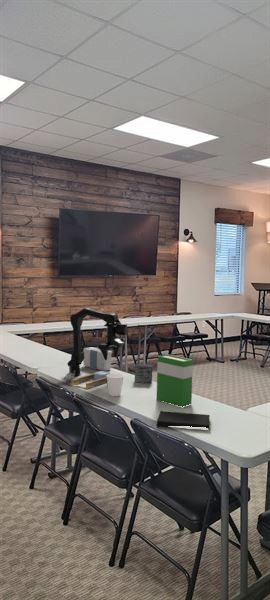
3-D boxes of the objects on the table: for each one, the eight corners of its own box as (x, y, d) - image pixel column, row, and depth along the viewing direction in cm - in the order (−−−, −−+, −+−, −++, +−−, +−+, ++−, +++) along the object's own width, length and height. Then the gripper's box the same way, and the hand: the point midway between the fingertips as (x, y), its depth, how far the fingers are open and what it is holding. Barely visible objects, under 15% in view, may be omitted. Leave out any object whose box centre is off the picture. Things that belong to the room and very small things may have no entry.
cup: (126, 394, 249) (127, 374, 248) (118, 398, 240) (119, 378, 239) (111, 391, 253) (111, 372, 252) (102, 396, 244) (103, 376, 243)
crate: (93, 380, 277) (94, 372, 277) (101, 377, 283) (101, 370, 283) (102, 382, 273) (102, 374, 273) (109, 379, 279) (109, 372, 279)
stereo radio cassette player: (82, 366, 311) (83, 338, 310) (91, 365, 318) (91, 337, 316) (104, 372, 298) (104, 342, 296) (112, 370, 304) (113, 341, 302)
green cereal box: (156, 400, 239) (157, 355, 237) (165, 397, 244) (166, 354, 243) (182, 408, 227) (183, 361, 225) (191, 405, 232) (192, 359, 230)
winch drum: (64, 382, 270) (65, 369, 269) (69, 380, 273) (70, 368, 273) (72, 384, 266) (72, 371, 266) (77, 382, 270) (77, 370, 269)
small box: (152, 381, 278) (152, 364, 277) (151, 383, 271) (152, 366, 271) (135, 380, 279) (135, 363, 278) (134, 383, 272) (134, 366, 272)
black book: (160, 416, 214) (160, 410, 214) (209, 420, 210) (209, 414, 210) (156, 427, 200) (157, 420, 200) (209, 432, 196) (209, 425, 196)
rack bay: (69, 385, 264) (69, 380, 263) (96, 376, 284) (96, 372, 284) (86, 389, 256) (86, 384, 256) (113, 380, 277) (113, 375, 277)
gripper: (112, 337, 263) (111, 363, 265) (131, 333, 279) (130, 358, 280) (97, 335, 270) (97, 360, 271) (117, 331, 285) (116, 355, 286)
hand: (110, 358), depth 277 cm, fingers open, 9 cm apart
